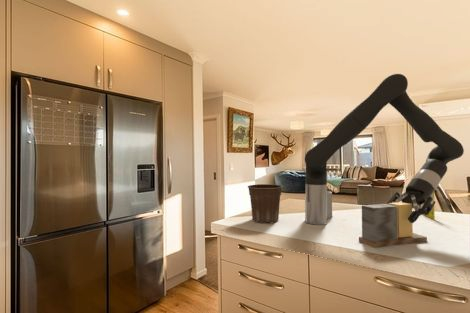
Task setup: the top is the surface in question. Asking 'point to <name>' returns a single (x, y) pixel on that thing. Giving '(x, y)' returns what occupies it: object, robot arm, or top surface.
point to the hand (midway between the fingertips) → (398, 218)
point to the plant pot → (265, 202)
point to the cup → (329, 204)
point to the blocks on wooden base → (383, 227)
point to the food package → (431, 209)
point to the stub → (404, 219)
